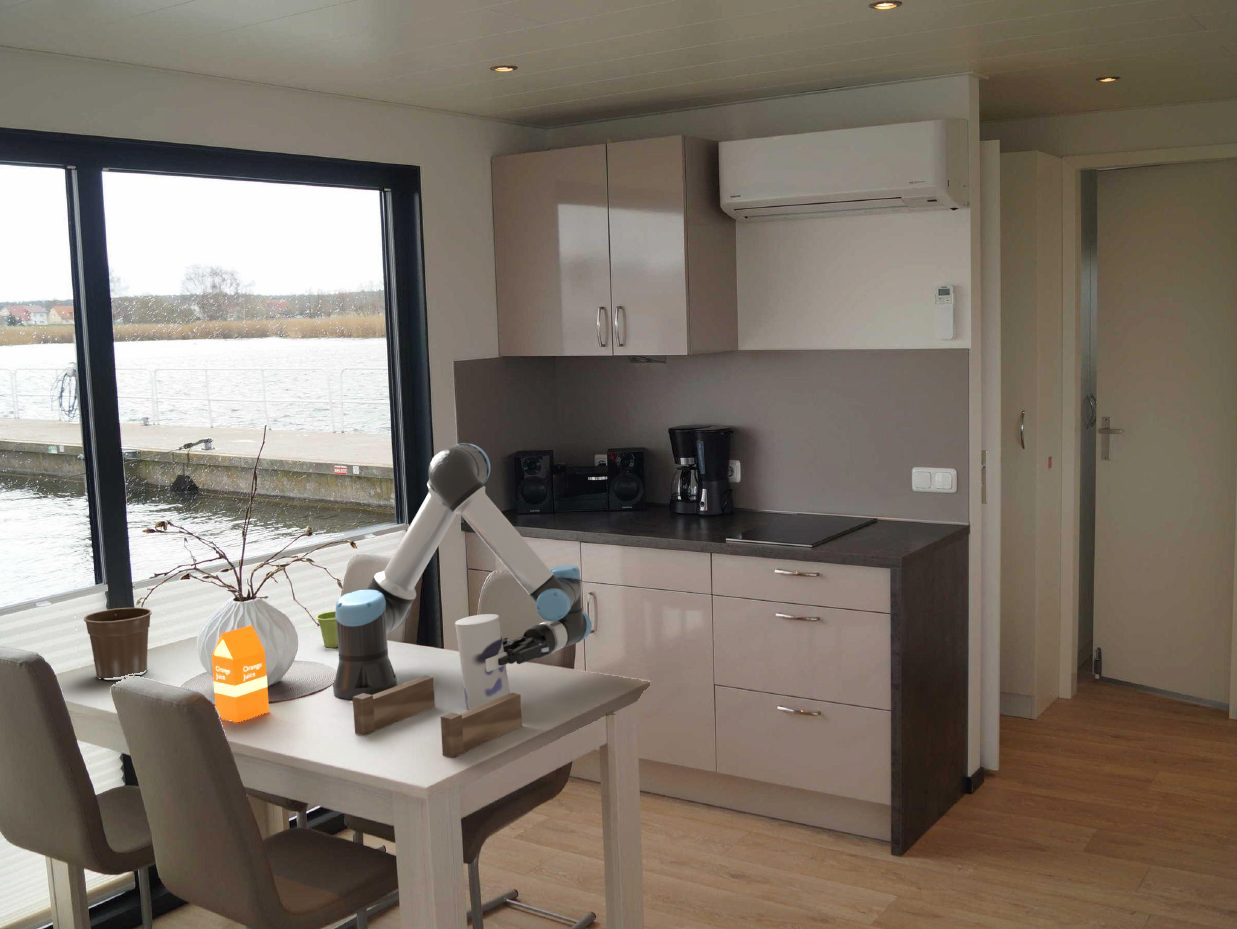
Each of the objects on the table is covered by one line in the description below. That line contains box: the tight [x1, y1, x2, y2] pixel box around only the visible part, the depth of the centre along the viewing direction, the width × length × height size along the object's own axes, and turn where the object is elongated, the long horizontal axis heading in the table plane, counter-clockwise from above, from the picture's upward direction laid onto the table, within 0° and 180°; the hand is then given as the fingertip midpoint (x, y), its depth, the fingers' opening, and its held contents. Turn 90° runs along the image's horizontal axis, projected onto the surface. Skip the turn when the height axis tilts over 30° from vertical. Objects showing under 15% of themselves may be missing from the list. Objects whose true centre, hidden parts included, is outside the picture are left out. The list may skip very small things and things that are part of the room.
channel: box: [352, 675, 523, 758], centre depth 244 cm, size 29×22×8 cm
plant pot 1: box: [83, 607, 153, 678], centre depth 295 cm, size 16×16×16 cm
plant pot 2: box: [315, 610, 338, 649], centre depth 318 cm, size 9×9×9 cm
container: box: [454, 613, 510, 710], centre depth 258 cm, size 10×10×20 cm
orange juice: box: [211, 624, 270, 723], centre depth 258 cm, size 8×9×20 cm
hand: (480, 664), depth 253 cm, fingers open, 3 cm apart
